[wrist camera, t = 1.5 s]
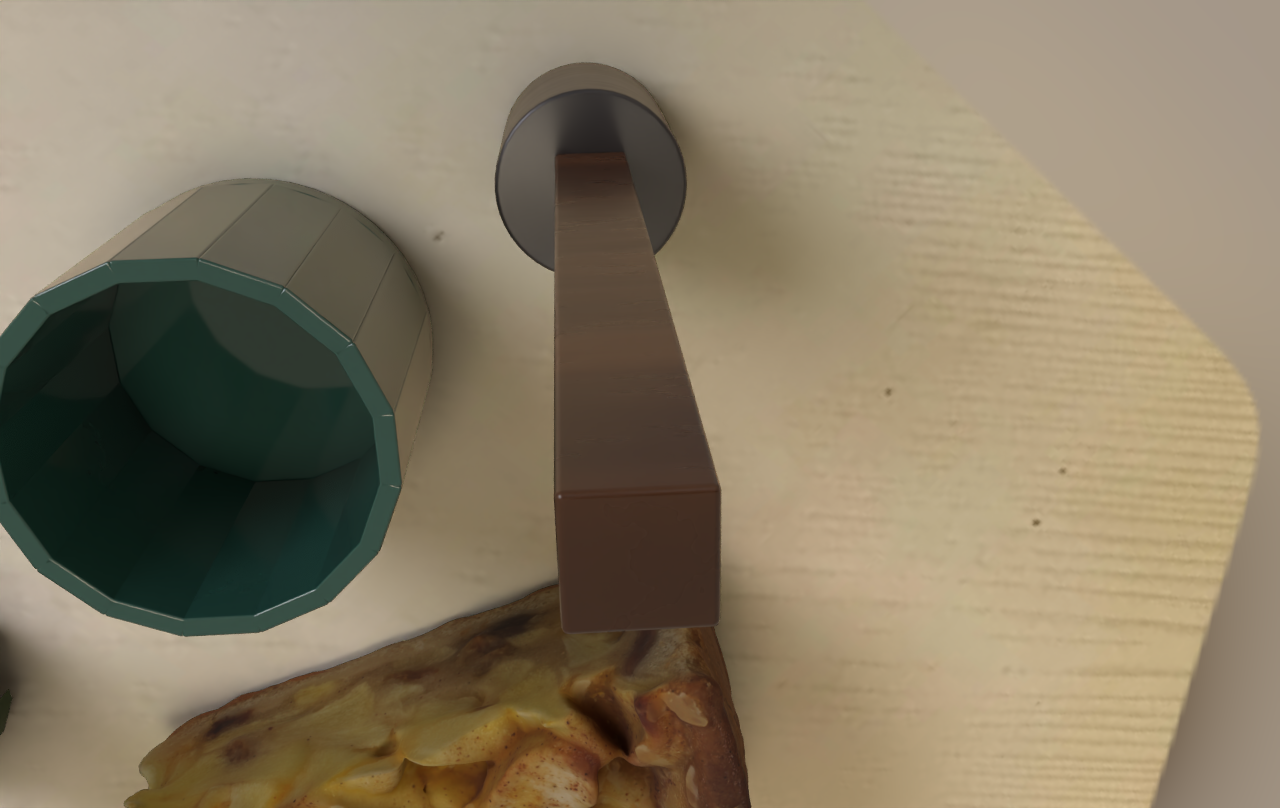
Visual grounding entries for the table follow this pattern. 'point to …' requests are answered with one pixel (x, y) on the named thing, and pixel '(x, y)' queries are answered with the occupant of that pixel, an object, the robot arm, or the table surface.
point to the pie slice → (475, 725)
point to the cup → (215, 409)
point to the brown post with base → (614, 352)
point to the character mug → (4, 709)
